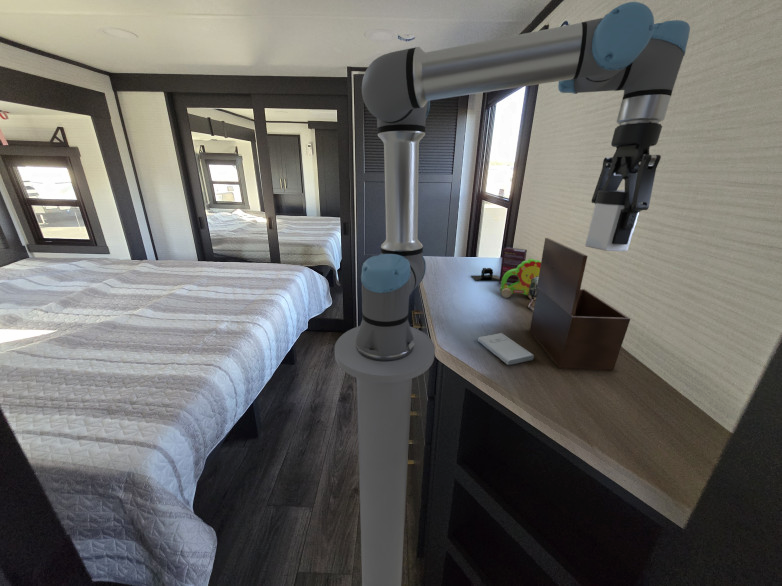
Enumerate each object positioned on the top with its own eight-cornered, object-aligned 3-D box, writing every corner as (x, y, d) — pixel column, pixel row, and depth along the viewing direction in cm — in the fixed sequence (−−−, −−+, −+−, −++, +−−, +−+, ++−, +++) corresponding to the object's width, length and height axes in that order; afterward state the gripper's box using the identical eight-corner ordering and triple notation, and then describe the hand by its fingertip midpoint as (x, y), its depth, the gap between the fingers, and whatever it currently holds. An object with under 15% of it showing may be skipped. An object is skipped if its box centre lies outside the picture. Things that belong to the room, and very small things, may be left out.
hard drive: (507, 366, 77) (477, 341, 88) (533, 360, 80) (501, 337, 91) (508, 360, 77) (478, 336, 88) (534, 354, 79) (502, 332, 90)
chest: (573, 332, 94) (584, 289, 89) (613, 370, 76) (630, 318, 71) (529, 331, 95) (538, 287, 89) (559, 368, 77) (572, 317, 72)
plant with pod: (518, 306, 112) (528, 252, 105) (546, 304, 114) (558, 251, 107) (531, 315, 105) (542, 258, 97) (561, 314, 107) (575, 257, 99)
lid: (548, 237, 84) (545, 237, 84) (587, 255, 66) (583, 255, 66) (539, 286, 89) (537, 286, 89) (574, 315, 71) (571, 315, 71)
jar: (629, 253, 64) (647, 193, 60) (583, 248, 68) (598, 191, 64) (626, 246, 71) (642, 191, 67) (585, 241, 75) (598, 189, 71)
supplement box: (521, 286, 132) (527, 249, 126) (519, 289, 128) (525, 251, 123) (500, 282, 136) (505, 246, 131) (497, 285, 132) (503, 248, 127)
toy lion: (500, 298, 119) (507, 259, 114) (498, 292, 124) (504, 255, 119) (544, 301, 117) (553, 262, 111) (540, 296, 122) (548, 258, 116)
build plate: (496, 276, 145) (498, 266, 143) (503, 281, 138) (504, 271, 136) (470, 276, 144) (471, 266, 142) (475, 281, 137) (477, 271, 135)
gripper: (705, 115, 51) (659, 251, 60) (624, 130, 70) (597, 231, 79) (658, 115, 51) (619, 250, 60) (590, 130, 71) (567, 230, 79)
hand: (607, 239), depth 69 cm, fingers closed on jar, 8 cm apart
